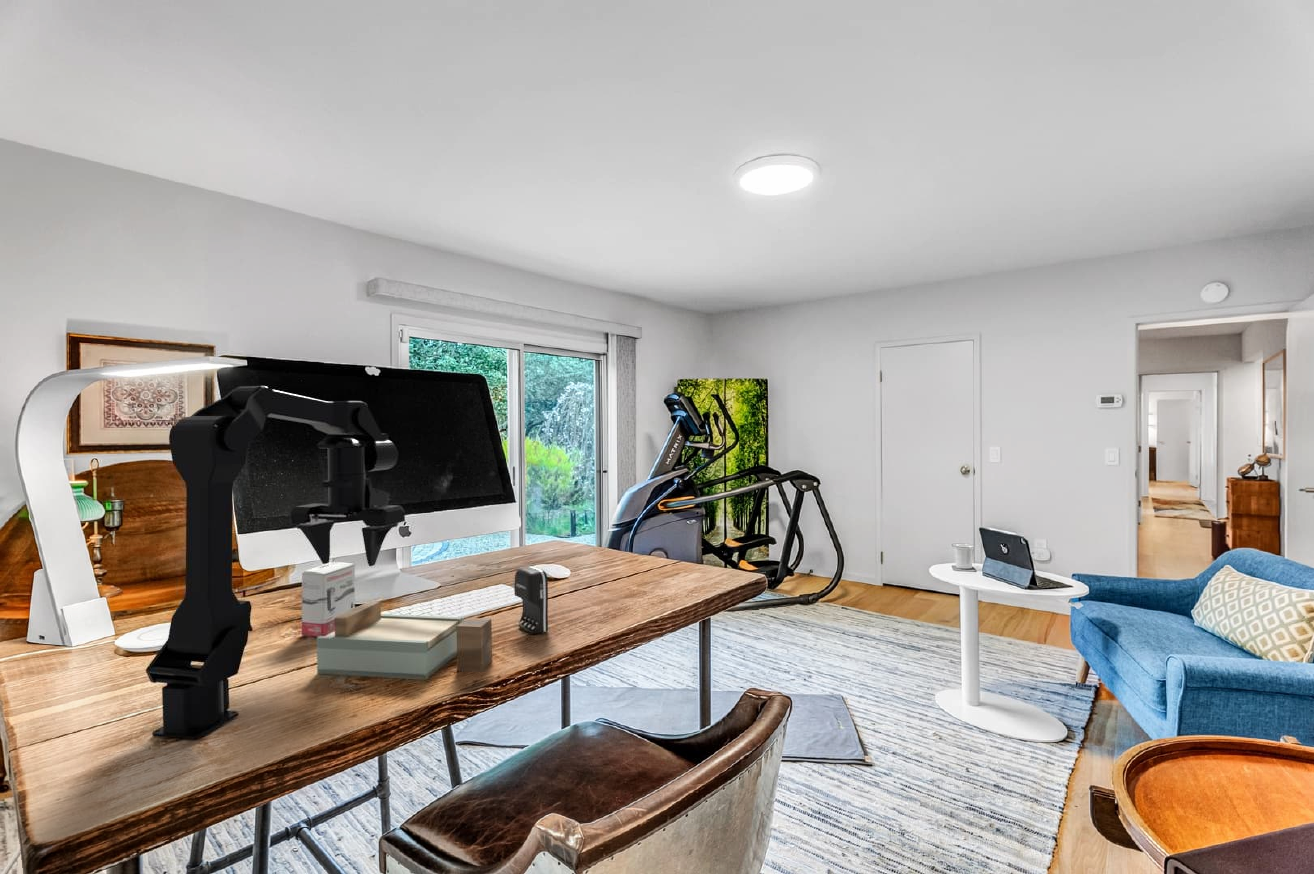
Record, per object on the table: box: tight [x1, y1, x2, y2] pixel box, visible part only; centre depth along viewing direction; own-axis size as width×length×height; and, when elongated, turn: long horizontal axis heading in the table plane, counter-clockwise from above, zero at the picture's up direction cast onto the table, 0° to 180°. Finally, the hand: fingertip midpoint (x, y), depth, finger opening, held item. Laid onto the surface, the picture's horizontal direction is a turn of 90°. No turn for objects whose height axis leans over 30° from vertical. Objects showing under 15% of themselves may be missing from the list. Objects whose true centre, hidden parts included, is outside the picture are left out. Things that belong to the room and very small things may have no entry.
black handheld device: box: [513, 566, 549, 635], centre depth 113 cm, size 7×4×11 cm, turn 41°
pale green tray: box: [316, 613, 463, 681], centre depth 99 cm, size 12×18×6 cm, turn 82°
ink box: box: [301, 561, 356, 638], centre depth 115 cm, size 9×5×12 cm, turn 168°
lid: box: [326, 600, 458, 648], centre depth 99 cm, size 10×18×4 cm, turn 82°
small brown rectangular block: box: [456, 617, 493, 672], centre depth 97 cm, size 4×4×7 cm
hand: (348, 564), depth 105 cm, fingers open, 9 cm apart
